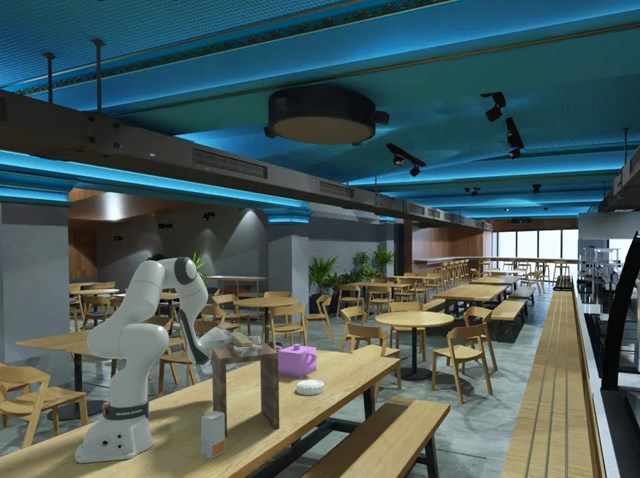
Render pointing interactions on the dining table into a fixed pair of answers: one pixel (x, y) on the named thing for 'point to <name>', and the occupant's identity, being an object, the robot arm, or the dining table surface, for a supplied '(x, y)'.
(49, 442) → the dining table surface
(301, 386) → the mooncake
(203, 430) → the skincare box
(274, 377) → the stand
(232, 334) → the bar
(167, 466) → the dining table surface
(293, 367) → the teapot
